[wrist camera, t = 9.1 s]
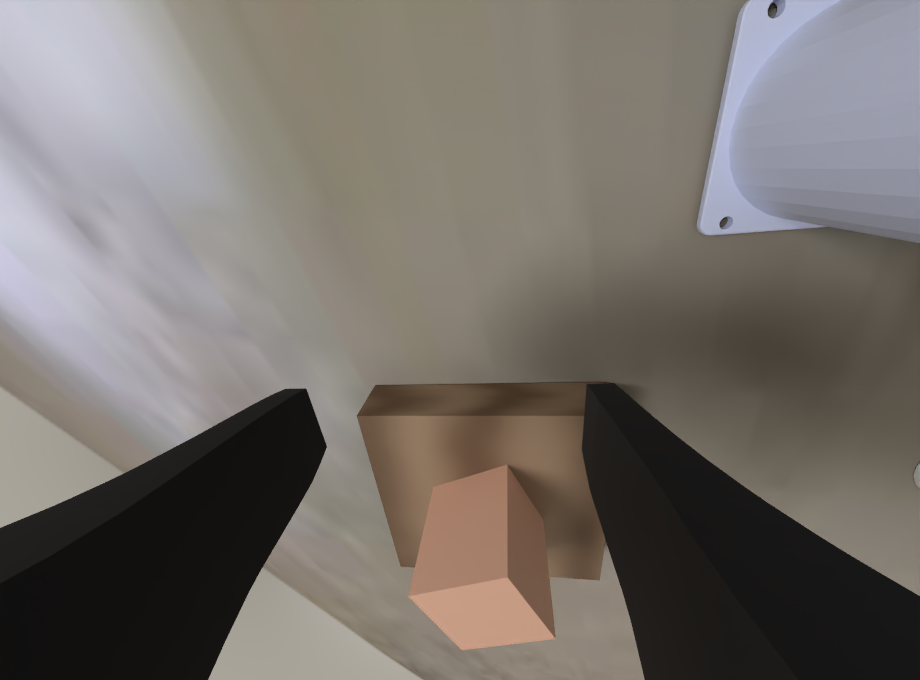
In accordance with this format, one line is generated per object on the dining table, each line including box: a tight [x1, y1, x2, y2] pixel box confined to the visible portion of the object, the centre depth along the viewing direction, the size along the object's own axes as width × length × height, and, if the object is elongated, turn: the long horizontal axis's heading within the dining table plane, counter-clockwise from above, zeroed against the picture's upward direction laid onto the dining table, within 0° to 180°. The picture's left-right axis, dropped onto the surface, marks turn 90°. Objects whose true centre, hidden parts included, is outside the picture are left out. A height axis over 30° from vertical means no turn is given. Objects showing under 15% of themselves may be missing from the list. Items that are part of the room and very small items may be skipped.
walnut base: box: [357, 382, 607, 580], centre depth 22 cm, size 14×14×3 cm
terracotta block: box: [409, 465, 556, 650], centre depth 18 cm, size 5×5×6 cm
